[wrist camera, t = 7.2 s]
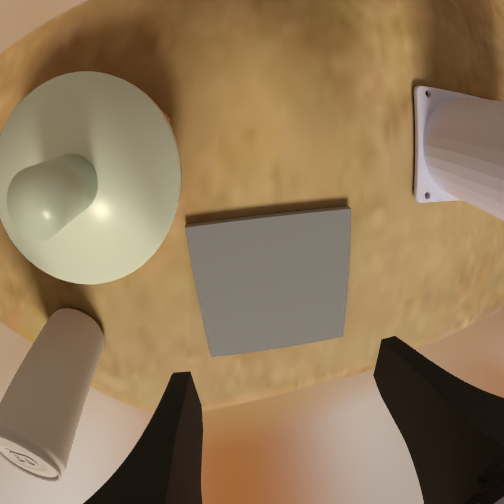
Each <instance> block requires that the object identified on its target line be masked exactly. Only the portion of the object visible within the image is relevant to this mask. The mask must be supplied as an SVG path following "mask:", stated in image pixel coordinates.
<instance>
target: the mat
mask: <svg viewBox="0 0 504 504" xmlns="http://www.w3.org/2000/svg"><path fill="white" fill-rule="evenodd" d="M185 230H186V236H187V241H188V247H189V252H190V258H191V263H192V269H193V274H194V279H195V284H196V289H197V294H198V299H199V304H200V309H201V313H202V318H203V323H204V327H205V332H206V336H207V341H208V345H209V349H210V354H211V357H216V356H225V355H233V354H241V353H249V352H256V351H263V350H270V349H276V348H283V347H289V346H295V345H300V344H306V343H312V342H317V341H322V340H327V339H333V338H337V337H342V336H343V332H344V323H345V313H346V301H347V289H348V275H349V258H350V236H351V208H350V207H348V206H342V207H332V208H321V209H311V210H301V211H292V212H282V213H273V214H264V215H256V216H247V217H239V218H231V219H223V220H215V221H207V222H199V223H192V224H186V226H185Z"/></svg>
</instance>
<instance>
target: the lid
mask: <svg viewBox="0 0 504 504" xmlns="http://www.w3.org/2000/svg"><path fill="white" fill-rule="evenodd" d="M181 188H182V166H181V157H180V152H179V148H178V143H177V141H176V138H175V135H174V132H173V130H172V128H171V126H170V124H169V122H168V120H167V118H166V116H165V115H164V114H163V112H162V111H161V109H160V108H159V107H158V105H157V104H156V103H155V102H154V101H153V100H152V99H151V98H150V97H149V96H148V95H147V94H146V93H145V92H143V91H142V90H141V89H139V88H138V87H137V86H135V85H133V84H131V83H129V82H127V81H126V80H123V79H121V78H118V77H115V76H112V75H109V74H106V73H100V72H94V71H79V72H73V73H67V74H64V75H61V76H58V77H55V78H53V79H51V80H49V81H47V82H45V83H43V84H41V85H40V86H38V87H37V88H36V89H34V90H33V91H32V92H30V93H29V94H28V95H27V96H26V97H25V98H24V99H23V100H22V101H21V102H20V103H19V105H18V106H17V107H16V108H15V109H14V111H13V112H12V114H11V115H10V117H9V119H8V120H7V122H6V124H5V126H4V128H3V130H2V132H1V135H0V219H1V221H2V224H3V226H4V228H5V230H6V232H7V234H8V235H9V237H10V239H11V240H12V242H13V243H14V245H15V246H16V247H17V249H18V250H19V251H20V252H21V253H22V254H23V255H24V256H25V257H26V258H27V259H28V260H29V261H30V262H31V263H32V264H34V265H35V266H36V267H38V268H39V269H41V270H42V271H44V272H45V273H47V274H49V275H51V276H53V277H55V278H58V279H61V280H64V281H67V282H72V283H77V284H101V283H106V282H111V281H114V280H117V279H119V278H122V277H124V276H126V275H128V274H130V273H132V272H134V271H135V270H136V269H138V268H139V267H140V266H142V265H143V264H144V263H145V262H146V261H147V260H148V259H149V258H150V257H151V256H153V254H154V253H155V252H156V250H157V249H158V248H159V247H160V245H161V244H162V242H163V240H164V239H165V237H166V235H167V234H168V231H169V229H170V227H171V224H172V222H173V220H174V217H175V215H176V211H177V208H178V204H179V201H180V194H181Z"/></svg>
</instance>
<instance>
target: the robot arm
mask: <svg viewBox="0 0 504 504" xmlns="http://www.w3.org/2000/svg"><path fill="white" fill-rule="evenodd" d="M426 91H427V93H428V96H426V94H425V92H426ZM414 105H415V181H414V199H415V200H416V201H418V202H420V203H424V202H439V201H454V200H463V201H465V202H467V203H469V204H471V205H473V206H476V207H478V208H480V209H482V210H484V211H486V212H488V213H490V214H492V215H494V216H496V217H498V218H500V219H501V220H503V221H504V101H498V100H487V99H483V98H479V97H475V96H471V95H467V94H463V93H458V92H453V91H449V90H443V89H438V88H433V87H427V86H416V87H415V89H414ZM426 192H427V196H426V197H425V193H426ZM374 378H375V381H376V384H377V387H378V389H379V392H380V394H381V397H382V398H383V400H384V402H385V404H386V406H387V408H388V410H389V412H390V413H391V415H392V417H393V419H394V421H395V423H396V425H397V426H398V428H399V430H400V432H401V434H402V436H403V438H404V440H405V442H406V444H407V447H408V449H409V452H410V455H411V458H412V460H413V463H414V466H415V469H416V473H417V476H418V479H419V483H420V487H421V491H422V495H423V500H424V504H504V398H502V397H499V396H496V395H493V394H490V393H488V392H486V391H483V390H481V389H479V388H476V387H474V386H472V385H470V384H468V383H466V382H464V381H462V380H460V379H459V378H457V377H455V376H454V375H452V374H450V373H449V372H447V371H445V370H444V369H442V368H440V367H439V366H438V365H436V364H434V363H433V362H431V361H430V360H428V359H427V358H426V357H424V356H423V355H421V354H420V353H418V352H417V351H416V350H414V349H413V348H412V347H410V346H409V345H407V344H406V343H405V342H403V341H402V340H400V339H399V338H397V337H396V336H393V337H390V338H386V339H382V340H381V345H380V350H379V354H378V358H377V363H376V367H375V371H374ZM202 437H203V423H202V407H201V403H200V400H199V397H198V394H197V391H196V388H195V385H194V382H193V379H192V376H191V372H178V373H173V374H172V375H171V378H170V380H169V383H168V385H167V388H166V390H165V392H164V394H163V396H162V399H161V401H160V403H159V405H158V407H157V409H156V411H155V413H154V415H153V417H152V418H151V420H150V422H149V424H148V426H147V427H146V429H145V431H144V432H143V435H142V436H141V437H140V439H139V441H138V442H137V444H136V445H135V447H134V448H133V450H132V451H131V453H130V454H129V455H128V457H127V458H126V459H125V461H124V462H123V463H122V464H121V466H120V467H119V468H118V469H117V470H116V472H115V473H114V474H113V475H112V476H111V477H110V479H109V480H108V481H107V482H106V483H105V484H104V485H103V486H102V487H101V488H100V489H99V490H98V491H97V492H96V493H95V494H94V495H93V496H91V497H90V498H89V499H88V500H87V501H86V502H85V503H83V504H202V495H201V461H202V459H201V458H202V439H203V438H202Z"/></svg>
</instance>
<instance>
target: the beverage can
mask: <svg viewBox="0 0 504 504" xmlns="http://www.w3.org/2000/svg"><path fill="white" fill-rule="evenodd" d="M104 345H105V339H104V335H103V333H102V331H101V329H100V327H99V325H98V324H97V323H96V322H95V320H94V319H93V318H91V317H90V316H89V315H87V314H85V313H83V312H81V311H78V310H76V309H70V308H64V309H59V310H57V311H55V312H54V313H53V314H52V315H51V317H50V318H49V320H48V321H47V323H46V324H45V326H44V327H43V329H42V331H41V332H40V334H39V335H38V337H37V339H36V340H35V342H34V343H33V345H32V347H31V349H30V350H29V352H28V353H27V355H26V357H25V359H24V360H23V362H22V364H21V365H20V367H19V369H18V371H17V373H16V374H15V376H14V378H13V380H12V382H11V383H10V386H9V387H8V389H7V391H6V393H5V395H4V397H3V399H2V401H1V403H0V456H1V457H2V458H3V459H5V460H6V461H7V462H9V463H10V464H12V465H13V466H15V467H16V468H18V469H20V470H22V471H23V472H25V473H27V474H29V475H32V476H34V477H36V478H40V479H42V480H47V481H55V482H56V481H59V480H60V479H61V473H63V472H64V471H65V469H66V466H67V462H68V458H69V454H70V450H71V447H72V443H73V440H74V436H75V432H76V429H77V426H78V422H79V419H80V416H81V413H82V409H83V406H84V403H85V400H86V397H87V394H88V391H89V388H90V385H91V382H92V379H93V377H94V374H95V371H96V368H97V365H98V363H99V360H100V357H101V355H102V352H103V349H104Z"/></svg>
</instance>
